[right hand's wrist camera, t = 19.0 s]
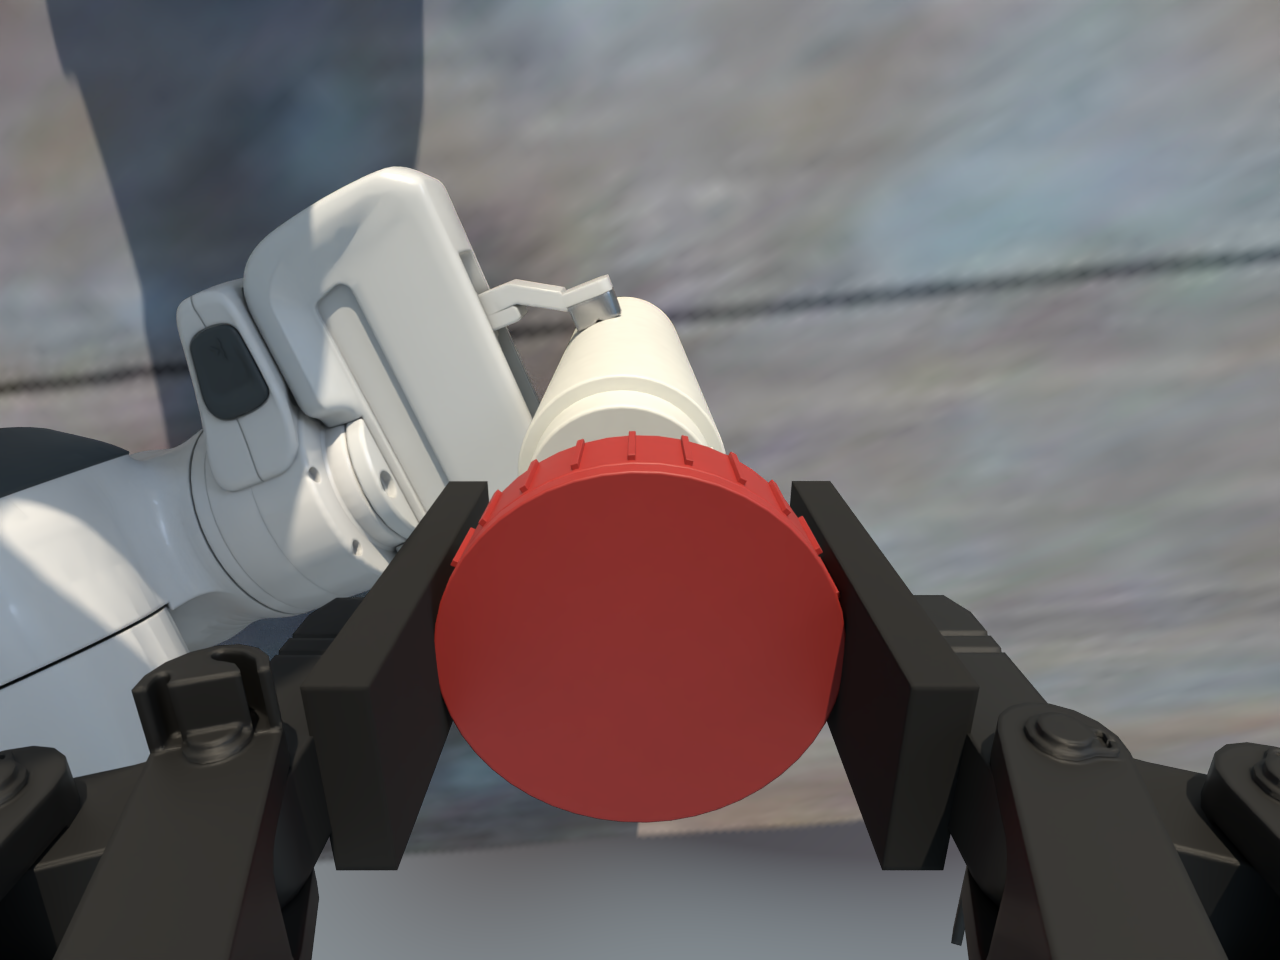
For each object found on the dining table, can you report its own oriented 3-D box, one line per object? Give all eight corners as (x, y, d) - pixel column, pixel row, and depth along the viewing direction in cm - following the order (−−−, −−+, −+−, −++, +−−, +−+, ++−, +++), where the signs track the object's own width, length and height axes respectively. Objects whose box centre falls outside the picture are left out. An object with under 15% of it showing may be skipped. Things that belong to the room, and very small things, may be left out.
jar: (597, 422, 35) (566, 630, 17) (552, 323, 34) (466, 442, 16) (696, 381, 35) (767, 555, 17) (655, 278, 33) (687, 351, 15)
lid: (855, 448, 11) (891, 488, 9) (789, 763, 13) (810, 839, 12) (458, 413, 11) (426, 447, 9) (456, 738, 13) (430, 812, 11)
